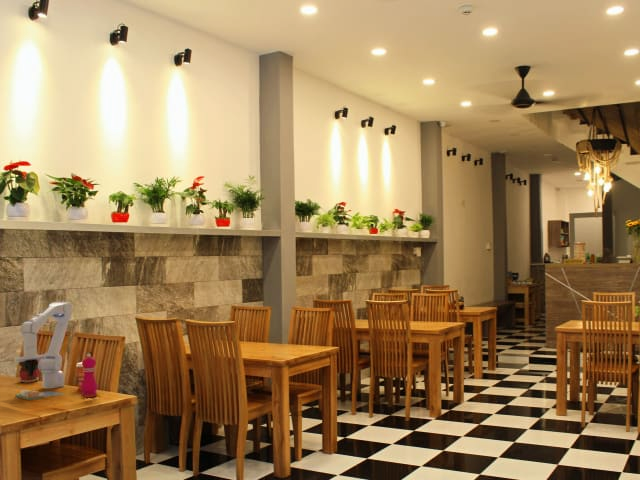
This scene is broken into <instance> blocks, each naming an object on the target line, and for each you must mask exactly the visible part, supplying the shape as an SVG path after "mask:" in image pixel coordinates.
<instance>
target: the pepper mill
mask: <svg viewBox="0 0 640 480" xmlns="http://www.w3.org/2000/svg"><path fill="white" fill-rule="evenodd" d="M81 362H82V365H83V367H84V368H83V369H84V370H83V371H84V380H83V383H82V386H81V390H80V391H81V392H82V394H81V395H82V396H87V397H85V398H86V400H87V399H88V398H90V399H95V398H97V390H98V388H99V387H98V382H97V381H96V378H95V373H94V372H95V366H96V364H97V363H96V362H97V361H96V359H95V358H94V357H92V356H91V354H90V353H87V355H86V357H84V358H83V360H82V361H81ZM88 400H89V399H88Z"/></svg>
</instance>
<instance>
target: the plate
mask: <svg viewBox="0 0 640 480" xmlns="http://www.w3.org/2000/svg"><path fill="white" fill-rule="evenodd" d="M42 395H45V398H49V397H50V398H51V397H56V396H62V395H64V393H61V392H56V391H52V390H47V391H42V392H41V391H40V392H39V396H42Z"/></svg>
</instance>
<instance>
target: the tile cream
mask: <svg viewBox="0 0 640 480" xmlns="http://www.w3.org/2000/svg"><path fill="white" fill-rule="evenodd" d="M19 391H20V393H19V394H20V395H22V396H26V397H28V392H29V391H32V390H31V389H22V390H19Z"/></svg>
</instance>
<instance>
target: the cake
mask: <svg viewBox="0 0 640 480" xmlns="http://www.w3.org/2000/svg"><path fill="white" fill-rule="evenodd" d="M27 360H30V359H27ZM38 363H39V361H38ZM38 363H37V365H36V367H35V370H34V373H33V376H28V372H27V369H26V367H25V365H24V364H23V362H18V365H19V366H20V370H19V371H18V372H19V377H20V379H19V382H23V383H32V382H33V381H34V382H36V381H39V380H40V377H39V375H40V370H39V367H38Z"/></svg>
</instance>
